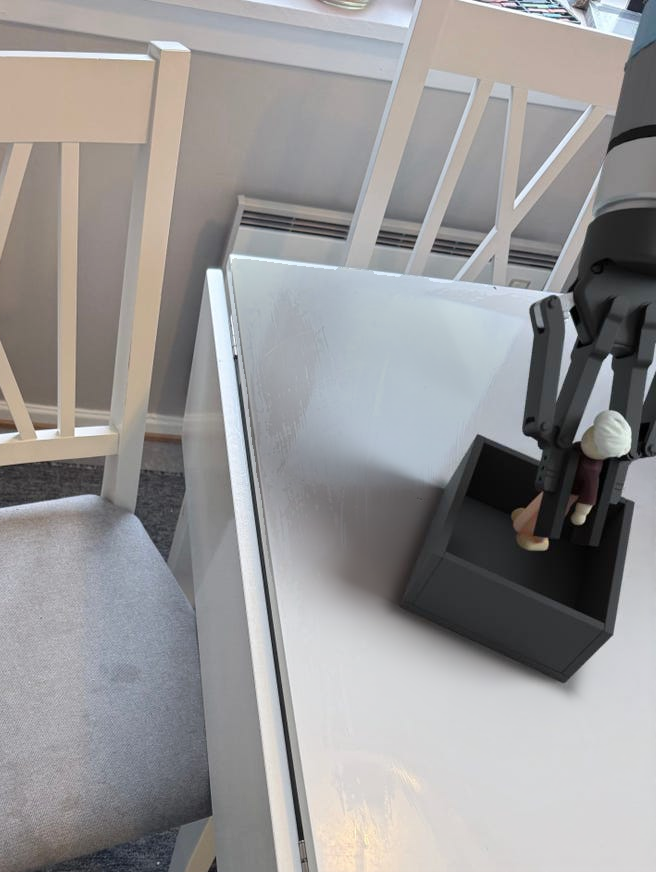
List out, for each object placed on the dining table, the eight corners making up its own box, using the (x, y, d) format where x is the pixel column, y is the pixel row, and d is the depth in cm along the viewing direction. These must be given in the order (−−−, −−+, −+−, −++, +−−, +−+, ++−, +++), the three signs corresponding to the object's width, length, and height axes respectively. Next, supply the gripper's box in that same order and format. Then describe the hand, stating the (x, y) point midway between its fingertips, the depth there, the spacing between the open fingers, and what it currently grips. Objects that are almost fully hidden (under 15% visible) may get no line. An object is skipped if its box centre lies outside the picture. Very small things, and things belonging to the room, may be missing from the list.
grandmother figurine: (494, 500, 74) (577, 380, 63) (535, 503, 74) (622, 385, 64) (523, 571, 69) (616, 454, 59) (565, 573, 70) (665, 458, 60)
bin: (591, 553, 80) (635, 501, 75) (565, 683, 70) (613, 635, 65) (444, 488, 82) (477, 433, 76) (399, 606, 72) (433, 553, 67)
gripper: (708, 258, 67) (630, 555, 71) (520, 215, 66) (450, 521, 69) (780, 229, 60) (690, 562, 63) (571, 180, 59) (490, 524, 62)
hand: (565, 540), depth 66 cm, fingers closed on grandmother figurine, 2 cm apart
